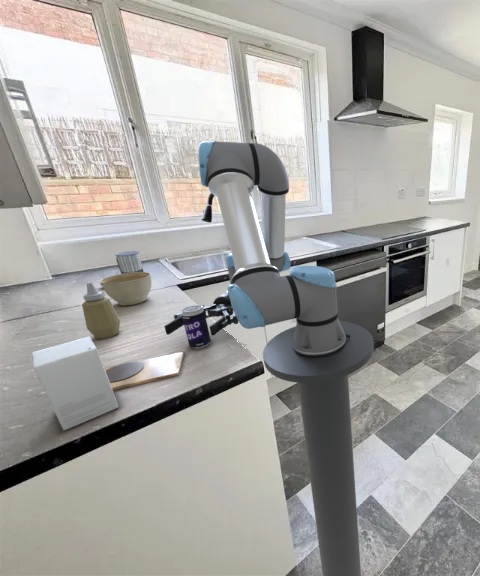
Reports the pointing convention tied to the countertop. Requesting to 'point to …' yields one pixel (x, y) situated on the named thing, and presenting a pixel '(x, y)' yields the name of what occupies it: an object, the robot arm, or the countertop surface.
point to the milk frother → (129, 262)
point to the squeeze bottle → (99, 313)
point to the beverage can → (196, 326)
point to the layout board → (144, 370)
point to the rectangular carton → (74, 381)
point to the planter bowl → (128, 287)
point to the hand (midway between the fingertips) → (188, 330)
